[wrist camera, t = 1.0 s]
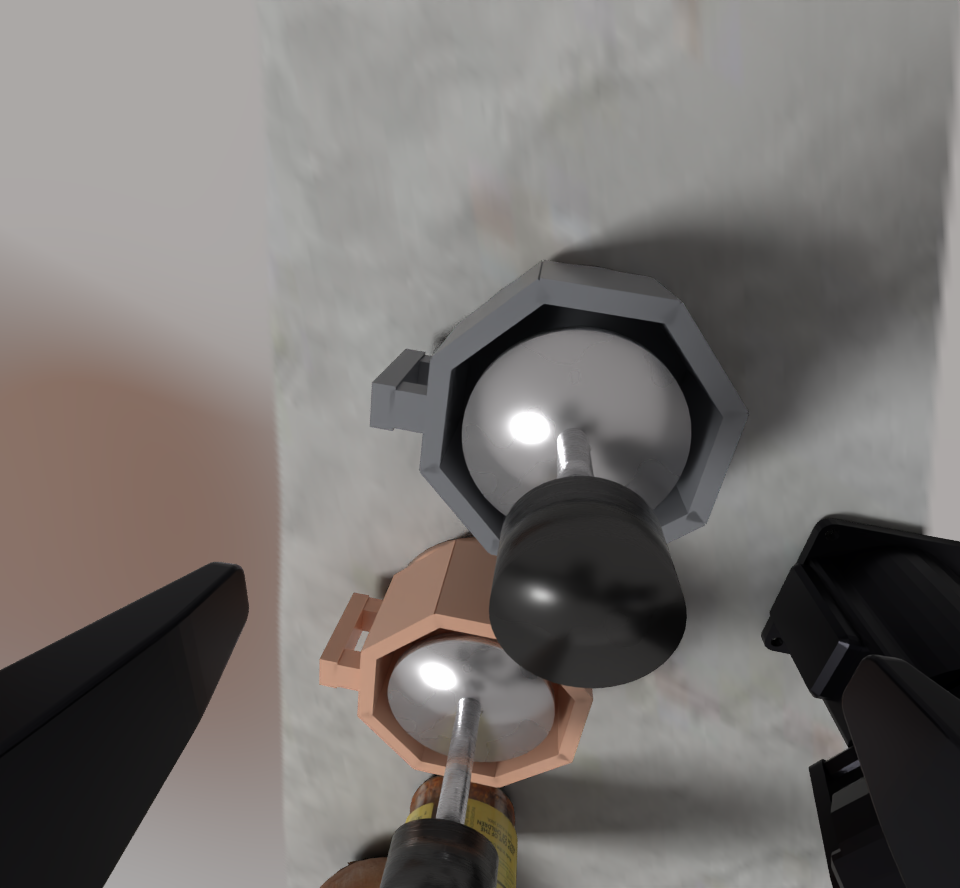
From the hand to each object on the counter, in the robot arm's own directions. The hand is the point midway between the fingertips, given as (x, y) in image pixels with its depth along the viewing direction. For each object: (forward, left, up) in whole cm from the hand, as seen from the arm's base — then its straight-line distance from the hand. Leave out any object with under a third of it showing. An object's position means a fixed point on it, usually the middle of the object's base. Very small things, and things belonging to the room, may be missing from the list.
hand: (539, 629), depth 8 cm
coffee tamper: (-1, +1, -8) cm, 8 cm away
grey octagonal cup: (-1, +1, -13) cm, 13 cm away
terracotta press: (+1, +12, -13) cm, 18 cm away
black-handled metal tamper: (+1, +12, -8) cm, 15 cm away
